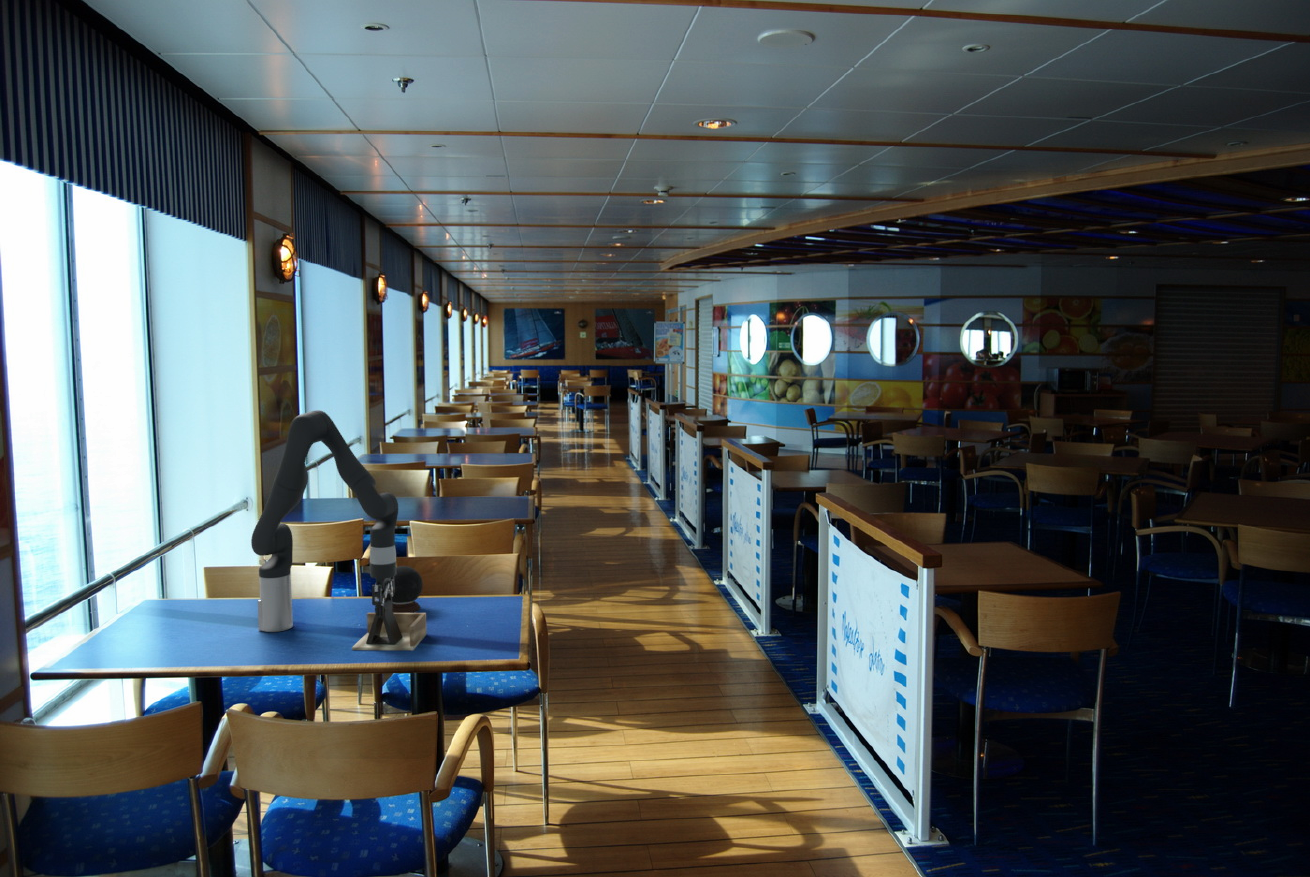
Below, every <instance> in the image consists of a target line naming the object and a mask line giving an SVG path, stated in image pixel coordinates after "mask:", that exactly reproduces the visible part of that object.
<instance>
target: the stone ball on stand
mask: <svg viewBox="0 0 1310 877" xmlns="http://www.w3.org/2000/svg"><path fill="white" fill-rule="evenodd" d="M394 583H395V593H393V597H392V611H393V613H413V612H414V613H418V612H419V611H420V610H421V605H420V604H419V603H418V602H417V601H416V600H417V599H418V598H419V597H420V596H421V593H422V591H423V586H424V585H423V579H422V576H421V574H420V572H418V570H416V569H415V568H413V567H410V566H407V565H398V566H396V575H395V576H394Z"/></svg>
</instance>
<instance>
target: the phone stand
mask: <svg viewBox="0 0 1310 877" xmlns="http://www.w3.org/2000/svg"><path fill="white" fill-rule="evenodd" d="M384 601H386V600H384ZM383 608H384V616H383V618H376V616H375V617H374V620H373V623H372V626H371V629H370V632H369V635H368V638H367V641H366V644H381V645H395V644H396V643H397V642H399V641H400V640H401V639H402V638H403V637H402V634H401V632H400V629H399V626H398V624H397V621H396V619H395V616H394V613H393V611H392V602H391V601H390V600H387V601H386V602H385V603H384V604H383ZM383 622H384V625H385V629H386V632H387V636H388V637H380V632H381V628H382V624H383Z"/></svg>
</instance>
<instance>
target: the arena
mask: <svg viewBox="0 0 1310 877" xmlns="http://www.w3.org/2000/svg"><path fill="white" fill-rule="evenodd" d="M394 616H395V619H396V621H397V624H398V626H399V629H400V632H401V634H402V637H403V638H402V639H401V640H400V641H399V642H397V643H396V644H395V645H381V644H366V641H367V638H368V635H369V632H370V629H371V626H372V623H373V620H374V617H375V612H367V613H366V628H367V630H366V631H367V633H366V634H364V635H363V636H362V637H361V638H360V639H359V640H358V641H357V642H356V643H355V644H354V645H353V646H351V651H414V650H415V649H416V648H417V646H418V645H419V644H420V643H421V641H422V640H424V638H425V637H426V636H427V632H428V631H427V612H414V613H394ZM380 637H388V636H387V632H386V629H385V625H384V622H383V624H382V628H381V632H380Z"/></svg>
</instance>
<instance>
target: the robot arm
mask: <svg viewBox="0 0 1310 877" xmlns="http://www.w3.org/2000/svg"><path fill="white" fill-rule="evenodd" d="M319 442H321V443H323V444H324V445H325V447H327V448H328V450H330V453H331V454H332V456H333V458H334V462H335V467H336V469H337V472H338V475H339V476H340V478H341V480H342V481H343V482H344V483H345V485H346V486H347V487H348V488H350V490H351V491H352V492H353V493H354V494H355V497H356V498H357V501H358V502H359V505H360V506H361V508H362V510H363V511H364V513H365V514H366V515H367V516H368V517H370V518H371V519H373V520H375V523H374V525H373V526H372V527H371V528H370V530H369V531H370V533H369V539H370V540H369V541H370V542H369V544H370V547H369V548H370V549H369V576H370V577H371V578H372V579H375V580H376V582H375V584H372V586H371V604H372V606H375V608H374V613H375V616H376V618H383V616H384V608H383V604H384V603H385V602H386V601H387V600H390V601H391V602H392V597H393V593H395V583H394V576H395V575H396V567H397V550H396V537H395V536H396V534H395V529H396V526H397V521H398V515H399V502H398V499H397V497H396V495H394V494H393V493H391V492H382V493H379V492H378V491H377V488H376V484H377V483H376V480H375V478H374V477H373V476H372V474H371V473H370V472H369V471H368V470H367V468H365V466H364V465H363V464H362V463H361V462H360V461H359V459H358V458H357V456H356V455H355V454H354V452H353V451H352V449H351V448H350V447H349V445H348V442H346V439H345V438H344V437H343V435H342V434H341V432H340V430H339V429H338V427H337V426H336V424H335V423H334V420H333V419H332V418H331V416H329V414H327V413H326V412H325V411H323V410H318V409H317V410H316V409H315V410H312V411H308V412H305V413H300V414H299V415H297V416H295V417H294V418H293V419H292V421H291V423H290V426H289V429H288V433H287V439H286V443H285V447H284V452H283V454H282V457H281V460H280V464H279V466H278V468H277V469H278V470H277V472H276V475H275V478H274V480H273V483H272V487H271V489H270V493H269V495H268V498H267V501H266V502H265V506H264V508H263V511H262V513H261V515H260V517H259V519H258V521H257V523H256V525H255V526H254V529H253V532H252V534H251V540H250V542H251V544H250V545H251V549H252V551H253V553H255V555H258V556H262V557H263V556H264V557H265V556H270V558H269V559H268V560H267V561H266V562H265V563H263V564H262V565H260V567H259V569H258V576H259V578H258V579H259V580H258V581H259V582H258V583H259V599H258V601H257V620H258V621H257V622H258V623H257V624H258V631H262V632H267V633H268V632H269V633H278V632H282V631H287V630H289V629H291V628H293V627H294V626H293V625H294V623H293V621H294V620H293V618H294V617H293V600H292V598H293V597H292V594H293V592H292V579H291V578H292V577H291V576H292V575H291V574H292V572H291V570H292V567H293V566H292V565H293V548H294V546H293V544H294V541H293V540H294V539H293V535H292V534H293V533H292V530H291V528H290V527H289V525H288V524H287V523H283V519H284V518H285V517H286V516H287V515H288V514H290V512H291V511H292V510H293V509H294V508H296V507H297V506H298V504H299V503H300V501H301V499H302V498H303V496H304V493H305V490H306V488H307V485H308V482H309V473H308V470H307V469H308V468H307V466H306V461H307V460H306V459H307V457H308V454H309V452H310V449H311V447H312V446H313V444H316V443H319ZM384 600H386V601H384Z"/></svg>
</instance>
